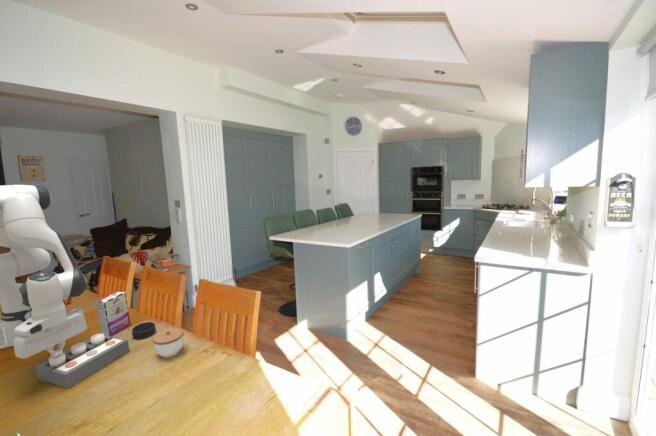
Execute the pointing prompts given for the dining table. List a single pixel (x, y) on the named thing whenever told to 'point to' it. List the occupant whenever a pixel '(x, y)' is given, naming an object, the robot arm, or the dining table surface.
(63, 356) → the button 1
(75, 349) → the button
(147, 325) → the smart speaker
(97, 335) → the button
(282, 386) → the dining table surface
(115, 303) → the candy bar box
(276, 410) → the dining table surface
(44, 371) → the button board
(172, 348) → the lidded jar
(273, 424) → the dining table surface
